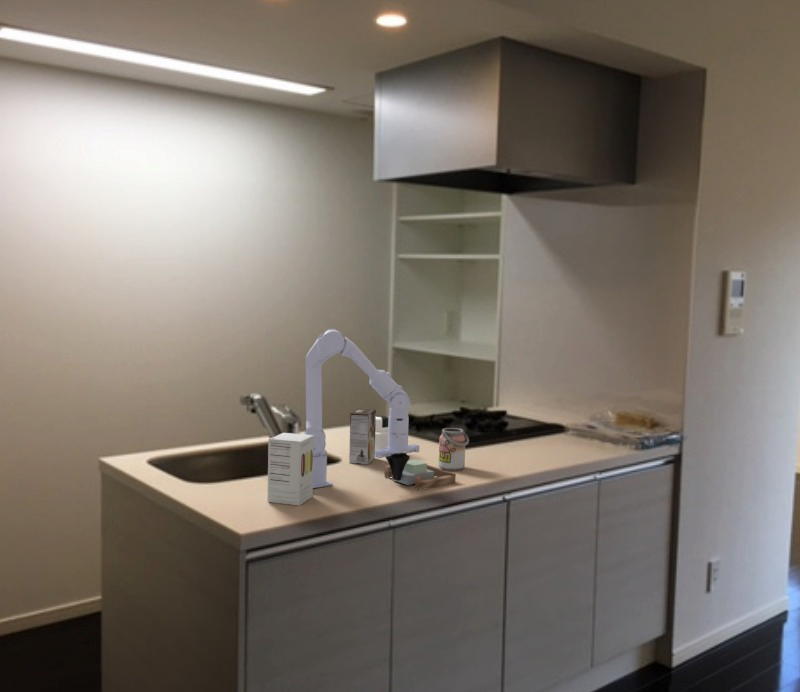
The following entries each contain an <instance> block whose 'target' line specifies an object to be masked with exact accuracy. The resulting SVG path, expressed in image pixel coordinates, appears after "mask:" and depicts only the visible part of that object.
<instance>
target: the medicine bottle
mask: <svg viewBox="0 0 800 692" xmlns="http://www.w3.org/2000/svg"><path fill="white" fill-rule="evenodd" d="M388 420H389V416H385V415H376V426H375V450H380V449H383V448H386V447H388Z"/></svg>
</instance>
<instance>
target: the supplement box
mask: <svg viewBox="0 0 800 692" xmlns="http://www.w3.org/2000/svg"><path fill="white" fill-rule="evenodd" d="M267 442H268V444H267V448H268V449H267V456H268V457H267V458H268V459H267V462H268V463H267V503H274V504H281V503H282V505H289V504H290V505H292V506H297V505H298V506H299V507H300V506H301V505H302V504H304V503H305V502H308V500H310V499H311V498H312V497H313V493H314V492H313V490H314V488H313V451H314V436H313V435H305V434H304V433H303V434H302V433H292V432H282V433H280V434H278V435H275V436H273V437H270V438H269V439H268V441H267ZM290 505H289V506H290Z"/></svg>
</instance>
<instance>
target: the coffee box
mask: <svg viewBox="0 0 800 692" xmlns="http://www.w3.org/2000/svg"><path fill="white" fill-rule="evenodd" d="M376 416H377V410H376V409H374V408H373V409H371V408H370V409H369V408H356V409H355V410H353V411H352V412H350V415H349V453H348V454H349V456H348V459H349V460H348V462H349V464H356V463H361V464H360V465H369V464H370V463H371V462H372V461H374V459H375V458H376V457H375V426H376Z"/></svg>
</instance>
